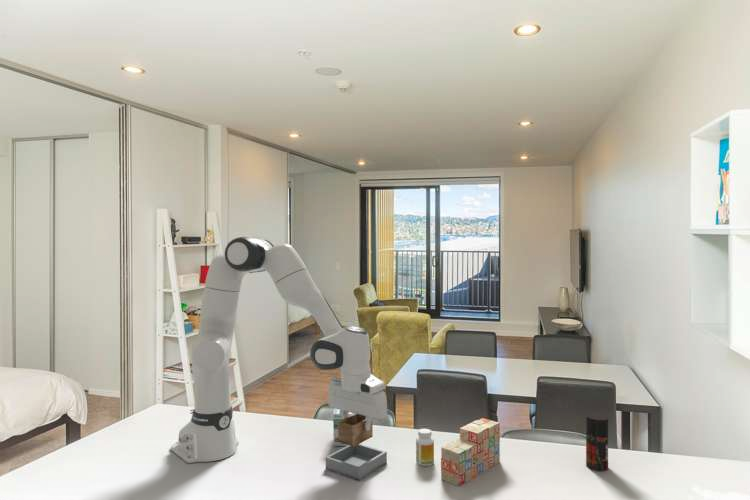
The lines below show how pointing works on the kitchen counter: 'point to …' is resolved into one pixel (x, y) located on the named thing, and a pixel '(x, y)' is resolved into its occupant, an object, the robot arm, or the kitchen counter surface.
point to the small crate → (353, 430)
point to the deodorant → (597, 442)
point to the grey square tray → (356, 461)
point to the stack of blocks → (471, 452)
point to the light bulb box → (337, 418)
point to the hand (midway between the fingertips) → (356, 427)
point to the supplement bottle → (424, 448)
